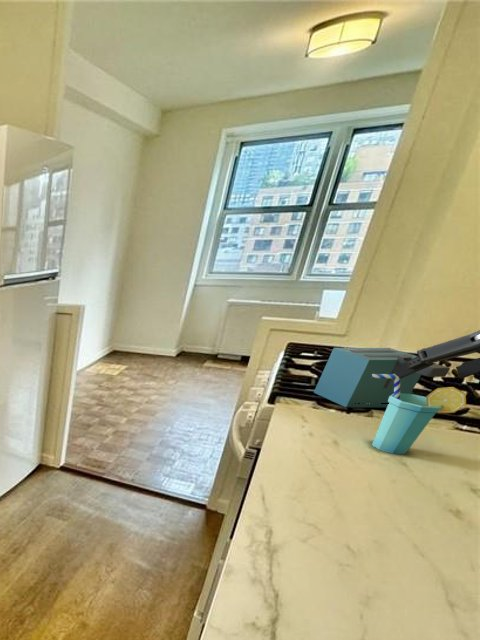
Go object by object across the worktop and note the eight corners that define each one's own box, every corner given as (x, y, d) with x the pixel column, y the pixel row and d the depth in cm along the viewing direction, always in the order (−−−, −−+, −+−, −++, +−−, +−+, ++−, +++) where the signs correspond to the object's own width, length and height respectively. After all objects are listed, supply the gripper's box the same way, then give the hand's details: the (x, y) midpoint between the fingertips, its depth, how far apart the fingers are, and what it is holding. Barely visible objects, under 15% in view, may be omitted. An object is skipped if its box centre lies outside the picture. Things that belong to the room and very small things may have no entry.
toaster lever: (405, 364, 112) (410, 355, 111) (445, 377, 104) (450, 368, 103) (390, 364, 112) (394, 355, 111) (428, 376, 104) (433, 368, 103)
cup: (342, 445, 99) (377, 376, 92) (336, 432, 105) (369, 366, 98) (436, 464, 93) (482, 391, 86) (424, 448, 98) (466, 378, 91)
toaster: (366, 392, 126) (391, 343, 120) (409, 410, 116) (438, 357, 110) (313, 392, 126) (335, 343, 120) (351, 410, 116) (377, 357, 110)
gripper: (494, 338, 85) (376, 388, 105) (637, 338, 85) (491, 388, 105) (478, 301, 87) (366, 357, 107) (618, 301, 87) (479, 357, 107)
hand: (428, 372), depth 106 cm, fingers open, 13 cm apart
